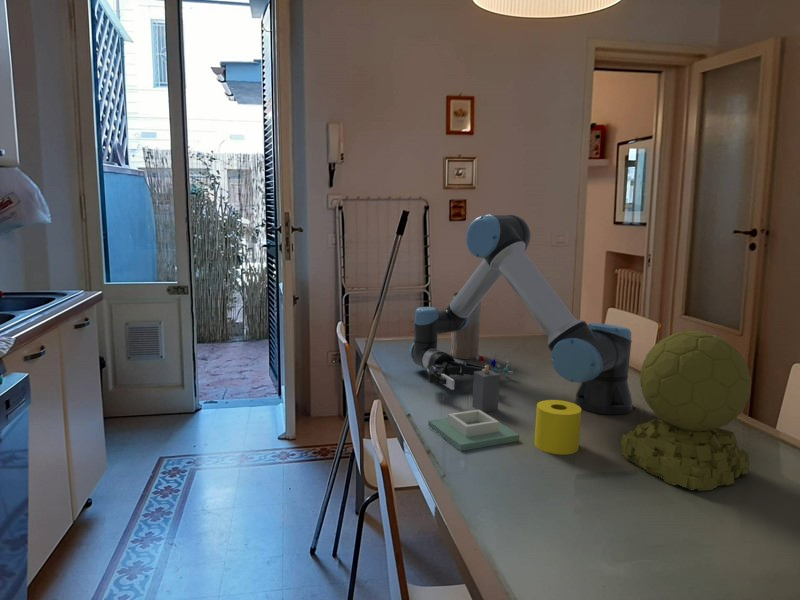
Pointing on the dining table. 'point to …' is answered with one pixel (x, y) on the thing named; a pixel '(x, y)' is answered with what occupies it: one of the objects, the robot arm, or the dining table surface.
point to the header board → (472, 430)
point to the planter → (467, 337)
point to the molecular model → (496, 365)
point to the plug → (485, 390)
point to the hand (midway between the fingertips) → (474, 382)
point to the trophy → (691, 412)
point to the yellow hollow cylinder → (557, 427)
